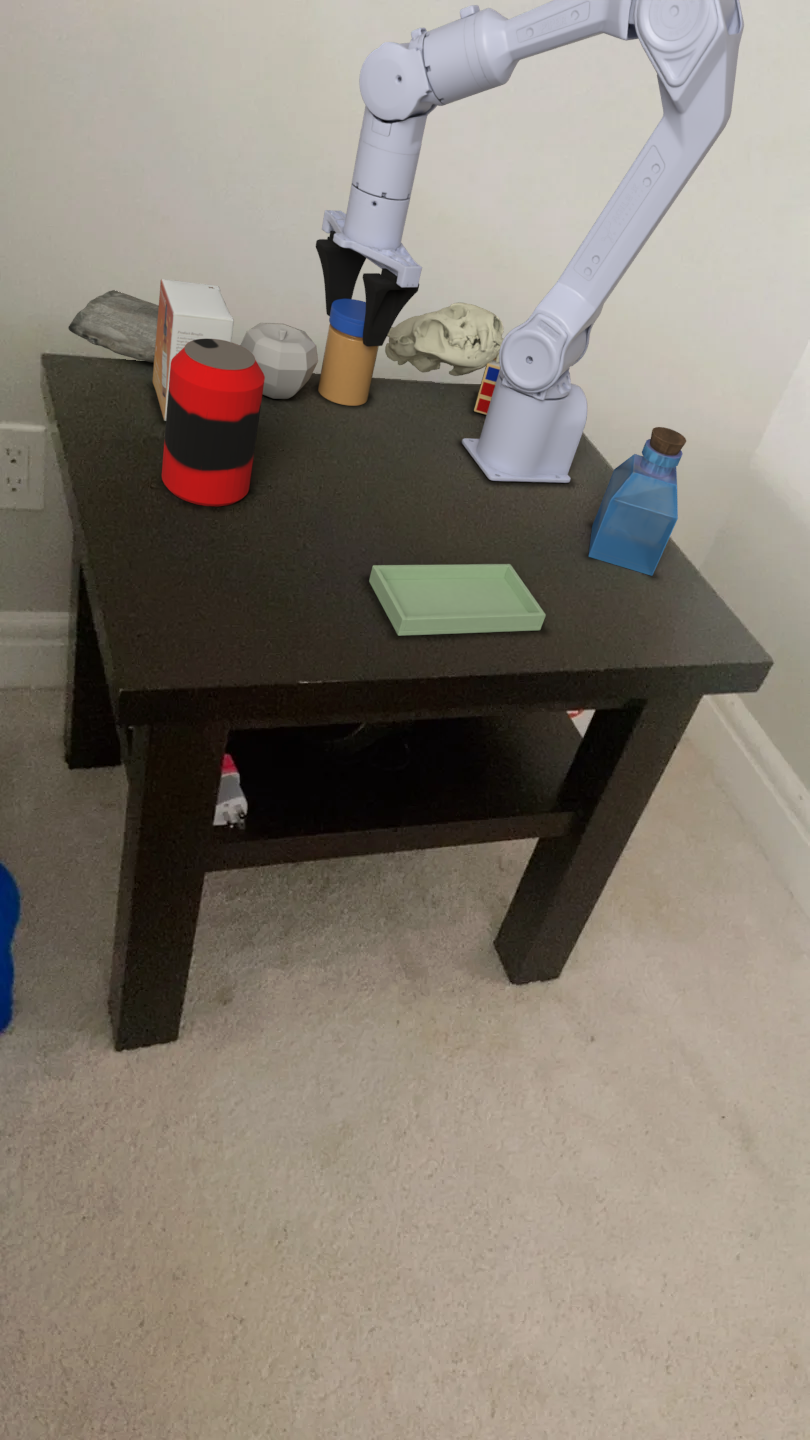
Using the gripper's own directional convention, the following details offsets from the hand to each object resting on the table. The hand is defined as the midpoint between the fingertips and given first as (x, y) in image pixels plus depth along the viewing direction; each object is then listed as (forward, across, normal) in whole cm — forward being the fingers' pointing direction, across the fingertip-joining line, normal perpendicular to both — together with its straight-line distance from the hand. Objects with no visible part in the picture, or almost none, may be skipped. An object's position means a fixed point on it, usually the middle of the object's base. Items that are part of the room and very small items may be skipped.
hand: (354, 329), depth 108 cm
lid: (-2, 0, 0) cm, 2 cm away
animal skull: (+5, +2, +12) cm, 13 cm away
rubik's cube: (+7, +7, +17) cm, 20 cm away
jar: (+7, 0, 0) cm, 7 cm away
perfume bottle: (+7, +34, +10) cm, 36 cm away
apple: (+7, -1, -8) cm, 11 cm away
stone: (+4, -6, -12) cm, 14 cm away
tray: (+7, +36, -12) cm, 39 cm away
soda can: (+7, +14, -23) cm, 28 cm away
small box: (+7, 0, -18) cm, 19 cm away
